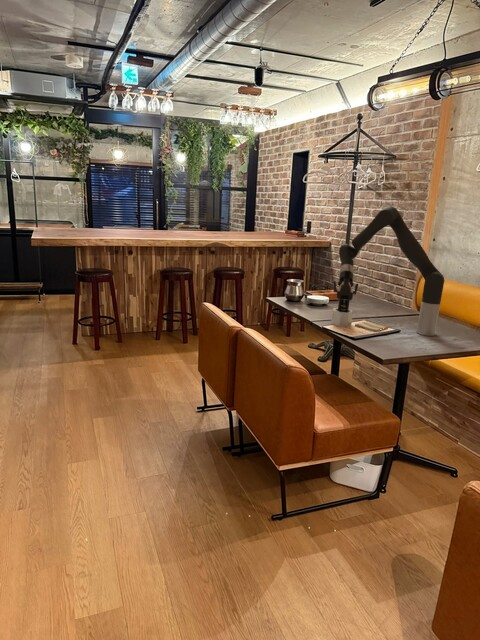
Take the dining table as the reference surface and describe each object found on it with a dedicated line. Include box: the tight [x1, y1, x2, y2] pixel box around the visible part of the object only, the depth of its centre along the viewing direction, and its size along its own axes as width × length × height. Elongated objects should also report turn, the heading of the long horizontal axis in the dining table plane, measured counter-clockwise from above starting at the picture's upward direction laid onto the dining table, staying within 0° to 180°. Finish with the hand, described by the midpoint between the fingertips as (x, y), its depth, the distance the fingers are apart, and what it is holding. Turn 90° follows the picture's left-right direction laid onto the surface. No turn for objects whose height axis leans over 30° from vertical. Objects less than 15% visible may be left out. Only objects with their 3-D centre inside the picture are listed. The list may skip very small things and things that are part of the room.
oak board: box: [354, 321, 389, 332], centre depth 252 cm, size 13×13×1 cm
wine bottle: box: [337, 270, 351, 312], centre depth 251 cm, size 6×6×30 cm
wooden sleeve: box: [331, 307, 354, 327], centre depth 253 cm, size 10×10×8 cm
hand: (344, 298), depth 249 cm, fingers closed on wine bottle, 5 cm apart
